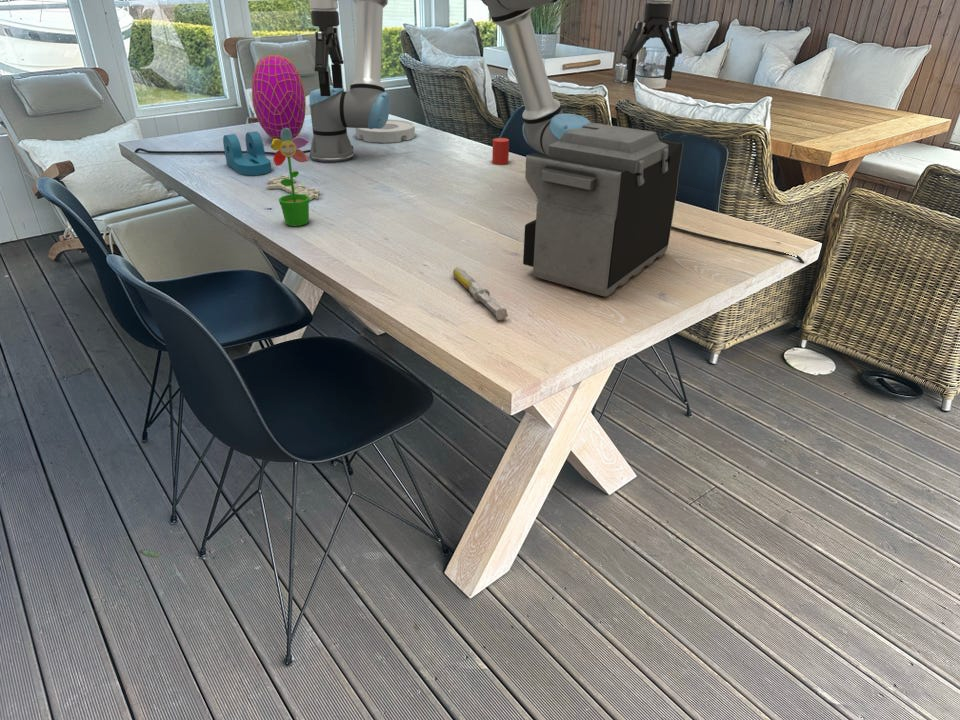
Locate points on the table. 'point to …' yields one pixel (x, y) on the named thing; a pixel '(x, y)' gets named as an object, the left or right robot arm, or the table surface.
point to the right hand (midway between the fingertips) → (648, 80)
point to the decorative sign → (297, 188)
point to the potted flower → (291, 178)
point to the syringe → (479, 293)
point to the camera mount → (246, 154)
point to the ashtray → (388, 132)
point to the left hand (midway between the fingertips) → (332, 92)
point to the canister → (500, 151)
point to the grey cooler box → (601, 206)
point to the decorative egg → (278, 96)
